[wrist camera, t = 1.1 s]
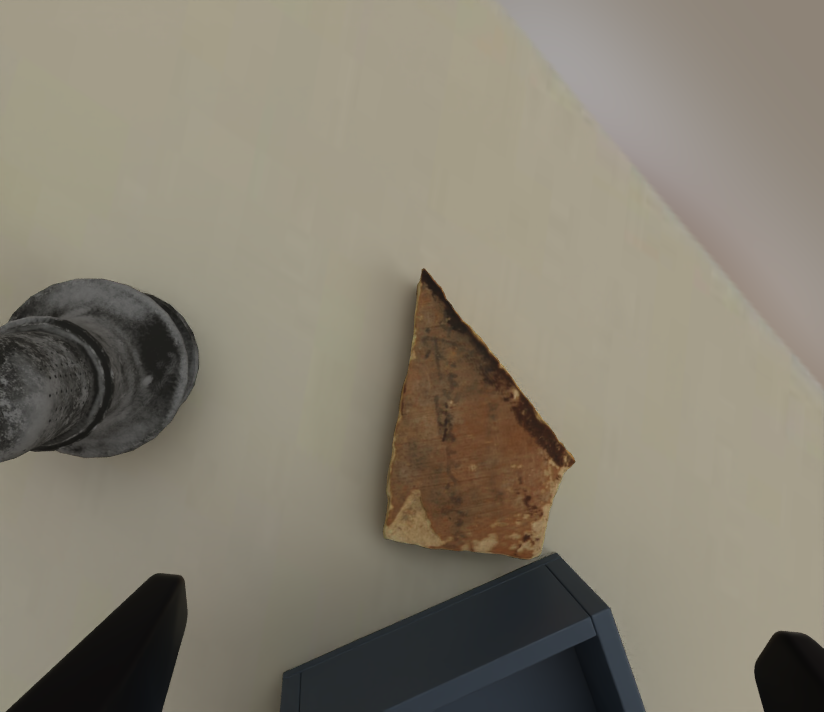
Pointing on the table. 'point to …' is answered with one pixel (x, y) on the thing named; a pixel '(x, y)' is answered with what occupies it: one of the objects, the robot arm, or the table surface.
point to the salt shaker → (92, 370)
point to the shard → (467, 445)
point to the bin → (482, 655)
